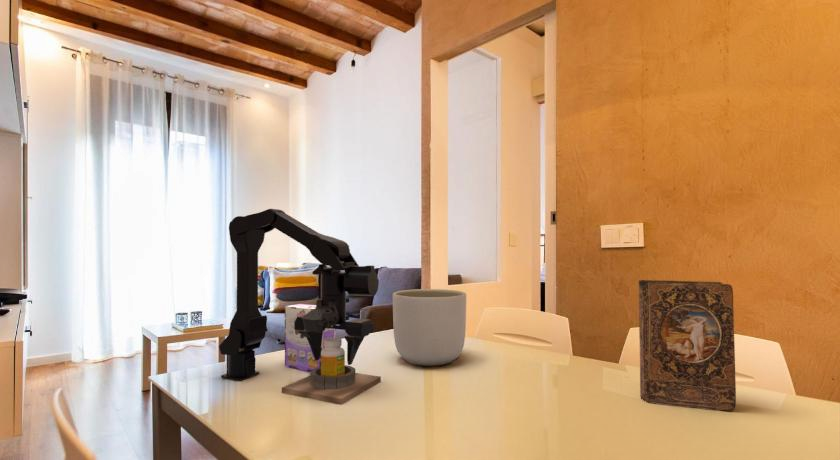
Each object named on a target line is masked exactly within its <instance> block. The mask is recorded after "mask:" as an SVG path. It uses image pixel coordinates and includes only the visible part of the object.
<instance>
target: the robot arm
mask: <svg viewBox="0 0 840 460" xmlns="http://www.w3.org/2000/svg"><path fill="white" fill-rule="evenodd" d="M275 229H276V230H278V231H280V232H281V233H282V234H284V235H286V236H287V237H289V238H290V239H293V240H294V241H296V242H297V243H299V244H300V245H302V246H304V247H305V248H306V249H307V250H308V251H309V252H310V254H311V256H312V257H313V258H314V259H315V260H317V262H319V263H320V264H319V265H318V266H317V267H316V268H315V269H314V270H313V271H312V275H319V276H320V298H318V299H316V304H315V305H316V308H315V309H313V310H311V311H310V312H308V313H307V314H306V315H304V316H299V317H297V318H296V320H295V322H294V329H296V330H300V331H298V332H299V333H301V334H303V335H304V336H305V337H306V338H307V340H308V342H309V344H310V347H311V350H312V353H313V356H314V358H315V360H319V357H320V353H321V344H322V336H323V331H324V330H325V328H331V329H336V330H342V331H343V330H344V332H345V333H346V335H345V336H344V339H345V341H346V343H347V345H346V346H347V351H346V358H347V359H346V360H347V366H351V365H352V364H353V362H354V360H355V357H356V355H357V352H358V350H359V349H360V346H361V344H362V342H363V340H364V339H365V338H366V337H367V336H369V335H370V334H371V333H374V332H375V331H374V329H375V327H374V323H373V320H372V319H366V318H356V319H353V320H350V315H347V303H350V297H347V294H348V295H349V296H360V297H361V296H362V297H363V296H365V297H366V296H367V297H369V296H370V297H374V296H376V295H377V293H378V290H379V284H380V283H379V282H380V281H379V278H378V274H377V272H376V270H375V265H365V266H363V265H362V266H361V265H359V264H358V262H357V261H356V259H355V258H354V256H353V255H352V253H351V250H350V245H349V244H348V243H347V242H346V241H344V240H341V239H339V238H336V237H333V236H329V235H326V234H322V233H320V232H318V231H316V230H314V229H313V228H311V227H309V226H308V225H306V224H304V223H303V222H300V220H298V219H296V218H295V217H293V216H291V215H290V214H289V215H288V214H287V213H286V212H285V211H284V210H282V209H279V208H268V209H265V210H263V211H259V212H256V213H252V214H247V215H245V216H243V215H238V216H235V217H234V218H233V219H231V221H230V222H229V225H228V232H229V240H230V243H231V245H232V246H233V248H234V250H235V252H236V312H235V313H234V315H233V317H232V319H231V321H230V324H229V330H228V335H227V336H226V337H225V339H224V340H223V341H222V342H221V343H220V344H219V346H218V348H219V352H220V355H224V356H226V373H224V374H222V375H220V377H221V378H223V379H227V380H233V381H238V382H239V381H243V380H246V379H248V378H251V377H254V376H257V375H259V374H260V371H258V370H256V356H255V355H256V354H255V351H256V349H259V348H261V343H262V341H263V339H265V337H266V333H267V332H268V331H269V330H268V327H267V326H268V325H267V324H268V323H267V322H268V316H267V315H266V314H265V315H262V313H261V311H260V310H259V250H260V249H261V247H262V245H263V243H264V241H265V234H267V233H270V232H271V231H274V230H275Z"/></svg>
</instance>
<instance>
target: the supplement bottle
mask: <svg viewBox="0 0 840 460" xmlns="http://www.w3.org/2000/svg"><path fill="white" fill-rule="evenodd" d="M342 344H343V341H342V338H339V337H336V338H327V339H324V346H325V348H324V349H323V350H322V351H321V376H340V375H345V365H346V363H345V361H346V360H345V359H346V358H345V356H346V355H345V353H346V352H345V349H344V348H343V347H341V346H342Z"/></svg>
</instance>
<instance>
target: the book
mask: <svg viewBox="0 0 840 460" xmlns="http://www.w3.org/2000/svg"><path fill="white" fill-rule="evenodd" d="M733 288H734V287H733V286H732V285H731V284H728V283H723V282H721V281H700V280H699V281H698V280H692V281H691V280H665V279H664V280H660V279H657V280H656V279H655V280H653V279H639V280H638V320H639V323H638V324H639V328H638V329H639V330H638V331H639V334H638V335H639V387H640V388H639V389H640V390H639V391H640V392H639V395H640V397H641V398H640V399H641V400H642V399H643V400H644V401H643V400H642V401H643V402H645V401H646V402H645V403H647V402H649V403H648V404H654V403H656V404H655V405H663V404H665V406H672V405H679V406H678V407H681V406H688V407H687V408H690V407H698V408H697V409H699V408H705V409H704V410H709V409H716V410H715V411H720V410H730V411H729V412H733V411H734V410H735V409H736V406H737V405H736V403H737V395H736V394H737V393H736V392H737V390H736V389H737V386H736V383H737V382H736V358H735V357H736V354H735V353H736V352H735V350H736V349H735V315H734V291H733V290H734V289H733Z"/></svg>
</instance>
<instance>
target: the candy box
mask: <svg viewBox="0 0 840 460" xmlns="http://www.w3.org/2000/svg"><path fill="white" fill-rule="evenodd" d="M315 308H316V304H306V303H296V304H290V305H284V367H285V368H291V369H295V370H299V371H300V370H301V371H304V372H305V371H306V372H309V373H311V371H312V370H313V369H315V368H318V367H321V353H320V357H319V360H315V358H314V356H313V353H312V350H311V347H310V344H309V342H308V340H307V338H306V337H305V336H304V335H303V334H301V333H299V332H298V331H300V330H296V329H294V322H295V320H296V318H297V317H299V316H304V315H306V314H307V313H308V312H310V311H311V310H313V309H315ZM336 330H337V329H331V328H325V330H324V331H323V336H322V344H321V351H322V350H323V349H324V348H325V346H324V339H327V338H337V337H336V335H337V334H336Z"/></svg>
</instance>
